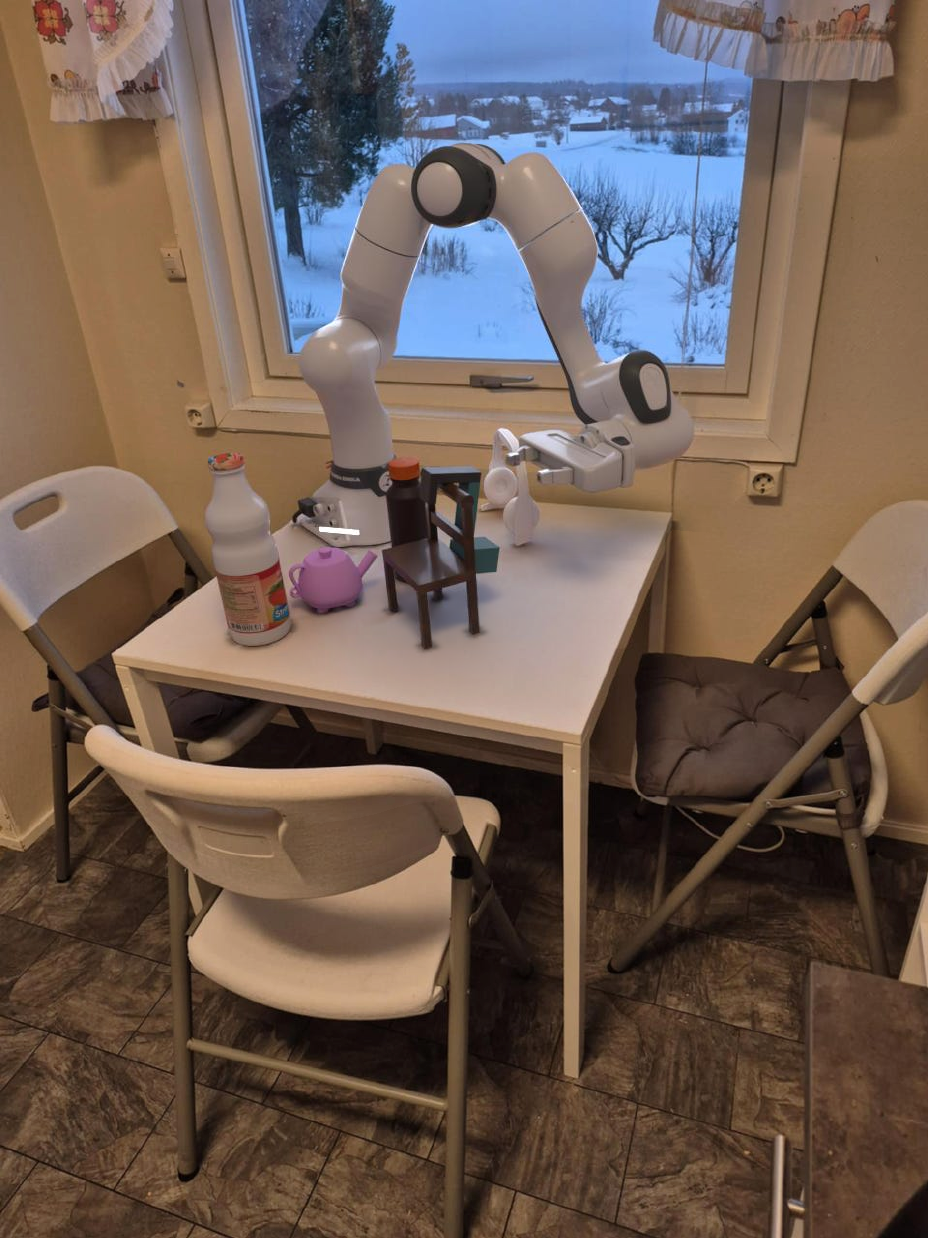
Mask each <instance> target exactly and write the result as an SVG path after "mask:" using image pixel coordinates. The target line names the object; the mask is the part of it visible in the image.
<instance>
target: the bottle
mask: <svg viewBox="0 0 928 1238" xmlns="http://www.w3.org/2000/svg"><path fill="white" fill-rule="evenodd" d="M388 467H389V476H390V480H391V481H392V485H391V486H390V488H389V489H388V490H387V492H386V502H387V511H388V520H389V529H390V537H391V541H390V546H391V547H395V546H399V545H403V544H407V543H411V542H415V541H418V540H422V539H426V538H428V528H427V517H426V506H425V502H424V501H423V500H422V499H420V498H419V496H420V485H421V481H419V479H421V476H420V472H421V469H420V460H419V459H418V458H415V457H412V456H411V457H409V456H406V457H405V456H403V457H396V459H393V460H391V461H390V462H389V463H388ZM394 576H395V579H398V580H399V581H401V582H404V583H407V582H406V581H405V580H404V579H403V578H402V577H401V576H400V575H399V574H398V573H397V572H396V571H395V570H394Z"/></svg>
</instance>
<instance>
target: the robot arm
mask: <svg viewBox="0 0 928 1238" xmlns="http://www.w3.org/2000/svg"><path fill="white" fill-rule="evenodd" d="M487 219H490V220H493V221H495V222H497V223H498V224H499V225H501V227H502V228H503V229H504V231H505V232H506V233H507V235H508V237H509V238H510V240H511V242H512V244H513V246H514V249H516V251H517V253H518V255H519V257H520V259H521V261H522V263H523V265H524V267H525V270H526V271H527V274H528V277H529V280H530V282H531V285H532V288H533V292H534V300H535V304H536V308H537V311H538V314H539V317H540V319H541V323H542V325H543V326H544V329H545V332H546V334H547V336H548V338H549V341H550V344H551V345H552V348H553V351H554V352H555V355H556V357H557V359H558V362H559V364H560V366H561V369H562V372H563V373H564V376H565V379H566V382H567V383H566V384H567V387H568V393H569V398H570V403H571V407H572V410H573V412H574V414H575V415H576V417H577V418H578V419H579V421H580V422H581V423H583V424H584V425H583V426H582V427H581V428H580V430H579V431H578V434H577V435H574V434H571V433H570V432H567V431H566V430H563V429H546V430H545V429H544V430H538V431H532V432H527V433H523V434H522V435H521V436H519V438H518V442H519V449H517V450H516V451H515V452H507V453H506V454H505V456H504V459H505V460H504V462H505V464H506V466H507V465H508V466H509V467H511V468H514V467H516V466H518V465H520V462H522V461H525V463H527V462H528V463H531V464H533V465H534V466H536V467H538V468H540V469H542V470H538V471H537V473H536V482H538V483H539V484H540V485H542V486H547V485H548V486H549V485H551V484H553V485H555V484H556V485H571V486H573V487H575V488H577V489H578V490H580V491H582V492H584V493H593V494H594V493H595V494H596V493H602V492H606V491H610V490H615V489H618V488H621V489H627V488H631V487H633V486H634V481H635V470H639V471H645V470H649V469H653V468H656V467H657V468H658V467H660V466H664V465H666V464H669V463H671V462H673V461H675V460H677V459H679V458H680V457H682V456H683V455H684V454H686V452H688V450H689V449H690V447H691V445H692V442H693V440H694V435H695V425H694V420H693V417H692V415H691V414H690V413H689V411H688V409H686V408H684V407H683V406H682V405H681V404H680V403H679V402H678V400H677V398H676V396H675V394H674V392H673V390H672V388H671V383H670V376H669V373H668V370H667V367H666V365H665V364H664V362H663V361H662V360H661V358H659V357H658V356H657V354H654V353H653V352H651V351H648V350H644V349H636V350H632V351H630V352H628V353H625V354H623V355H621V356H618V357H616V358H614V359H612V360H610V361H608V362H605V361H604V360H603V359H602V358H601V357H600V356H599V353H598V351H597V348H596V346H595V343H594V341H593V339H592V336H591V334H590V332H589V329H588V326H587V324H586V322H585V319H584V317H583V311H582V300H583V296H584V292H585V290H586V287H587V285H588V283H589V281H590V279H591V278H592V276H593V274H594V271H595V269H596V265H597V261H598V255H599V247H598V243H597V239H596V238H597V237H596V235H595V232H594V229H593V227H592V225H591V223H590V221H589V218H588V217H587V215H586V213H585V211H584V210H583V208H582V206H581V204H580V202H579V200H578V199H577V197H576V195H575V193H574V192H573V190H572V188H571V187H570V185H569V184H568V183H567V181H566V179H565V178H564V176H563V175H562V174H561V173H560V172H559V170H558V169H557V168H556V166H555V165H554V163H553V162H552V161H551V160H550V159H549V158H548V156H546V155H545V154H543V153H540V152H526V153H522V154H520V155H518V156H515V157H514V158H512V159H510V160H509V161H508V162H506V161H505V159H504V158H503V157H502V155H501V154H499V153H498V152H497V151H496V150H495V149H494V148H492V147H490V146H489V145H486V144H481V143H471V142H457V143H454V144H451V145H446V146H445V145H443V146H439V147H436V148H434V149H432V150H431V151H429V152H427V154H425V155H424V156H423V157H422V158H421V159H420V160H419V161H418V163H417V165H416V166H415V167H413V166H411V165H408V164H403V163H391V164H388V165H386V166H384V167H383V168H381V169H380V171H379V172H378V173H377V175H376V177H375V179H374V181H373V183H371V187H370V188H369V190H368V192H367V194H366V197H365V198H364V201H363V203H362V206H361V208H360V211H359V213H358V216H357V219H356V222H355V225H354V229H353V232H352V234H351V238H350V241H349V244H348V247H347V250H346V255H345V258H344V261H343V264H342V266H341V270H340V280H341V283H342V284H341V287H342V289H341V299H340V305H339V309H338V312H337V315H336V317H335V318H334V319H333V321H332V322H330V323H328V324H326V325H324V326H321V327H320V328H318V329H317V330H315V331H314V332H313V333H312V334H311V335H310V336H309V338H308V339H307V340H306V341H305V343H304V345H303V346H302V347H301V349H300V352H299V356H298V368H299V372H300V375H301V377H302V379H303V381H304V382H305V384H306V385H307V386H308V387H309V388H310V389H311V390H313V391H314V392H315V393H316V396H317V397H318V401H319V403H320V405H321V408H322V410H323V413H324V415H325V419H326V422H327V426H328V427H327V428H328V433H329V440H330V447H331V452H332V460H329V461H326V462H325V465H326V466H325V469H329V468H330V472H329V479H328V480H326V481H325V483H323V484H322V485H321V486H320V487H319V488H318V489H317V490H316V491H314V492H313V494H312V495H311V497H308V496H307V497H304V498H301V499H298V500H297V505H298V510H297V511H296V512H294V513H293V515H292V516H291V518H292V519H291V520H292V523H294V524H296V523H297V522H298V518H299V516H301V515H304V517H303V518H302V519H301V526H302V527H303V528H305V529H306V530H307V531H308V532H311V533H312V534H314V535H316V536H317V537H318V538H320V539H322V540H323V541H324V542H326V543H328V544H329V545H330V546H331V547H332V548H344V547H353V546H373V545H374V546H375V545H381V544H385V543H390V542H391V537H390V529H389V520H388V511H387V502H386V492H387V490H388V489H389V488H390V486H391V485H392V481H391V480H390V476H389V467H388V463H389V462H390V461H391V460H393V459H397V455H396V454H395V453H394V443H393V432H392V425H391V423H392V422H391V416H390V413H389V412H388V410H387V409H386V408H384V406H383V404H382V401H381V398H380V395H379V393H378V390H377V387H376V374H378V373H380V372H381V371H382V370H384V369H385V368H386V367H387V366H388V364H389V363H390V361H391V360H392V358H393V357H394V355H395V352H396V350H397V347H398V334H399V330H400V329H399V328H400V323H401V319H402V312H403V307H404V303H405V300H406V296H407V294H408V291H409V288H410V285H411V283H412V280H413V277H414V274H415V271H416V268H417V266H418V264H419V260H420V257H421V255H422V251H423V250H424V249H423V248H424V246H425V243H426V240H427V238H428V235H429V233H430V231H431V230H432V228H433V226H435V227H438V228H442V229H449V230H450V229H458V228H464V227H465V228H466V227H470V226H473V225H476V224H478V223H479V222H481V221H484V220H487ZM327 464H328V465H327Z"/></svg>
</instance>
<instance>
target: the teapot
mask: <svg viewBox="0 0 928 1238" xmlns="http://www.w3.org/2000/svg"><path fill="white" fill-rule="evenodd" d="M377 558H378V555H377V553H375V552H373V551H372V550H370V549H369V550H368V551H367V553H366V554H365V555H364V557H363V558H362V559H361V560H360V562H359V563H358V565H356V564H355V562H354V560H353V559H352V558H351V557H350V555H348V554H347V552H346V551H345V550H343V549H341V548H340V547H331V546H323V547H320V548H319V549H316V550H313V551H310V552H308V553H307V554H306V555H305V557H304V559H303V561H302V563H301V562H298V563H295V564H293V565H292V566H290V568H289V570H288V578H289V580H290V582H291V583H292V585H293V586H292V587H291V588H290V590H289V595H290V597H291V598H293V599H299V598H301V599H302V600H303V601H304V602H305V603H307V604H308V605H309V606H311V607H312V608H315V609H316V612H317V613H318V614H325V613H328V612H329V610H330V609H333V608H339V607H342V606H345V607H354V606H355V605H356V604H357V602H356V600H357V599H358V598H359V596H360V594H361V592H362V591H363V577H364V576H365V574H367V572H368V570H370V568H371V566H372V565H373V563H374V562H375V561H376V560H377ZM298 569H300V570H299V573H298V580H296V579H295V576H294V572H295V571H296V570H298ZM294 591H296V592H294Z"/></svg>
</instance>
